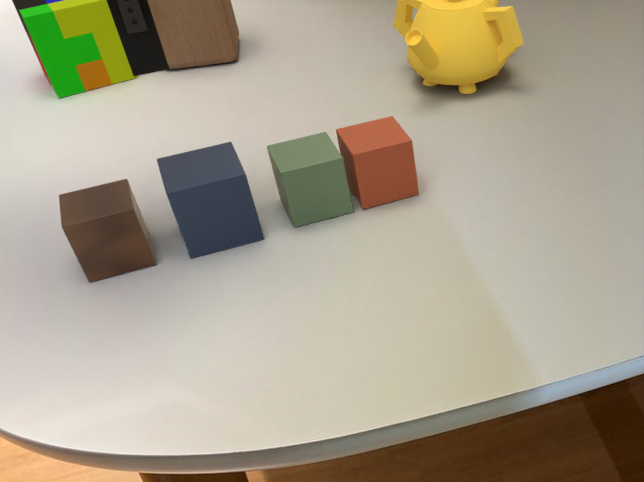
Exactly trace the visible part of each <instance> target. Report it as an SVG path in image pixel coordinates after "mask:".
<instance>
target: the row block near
mask: <svg viewBox="0 0 644 482" xmlns="http://www.w3.org/2000/svg"><path fill="white" fill-rule="evenodd" d="M58 201H59V213H60V225H61V228H62V231H63V233H64V235H65V237H66V239H67V241H68V243H69V246H70V248H71V249H72V252H73V254H74V256H75V257H76V259H77V261H78V264H79V266H80V267H81V270H82V272H83V273H84V276H85V278H86V280H87V282H88V283H93V282H97V281H101V280H104V279H105V280H106V279H107V278H112V277H114V276H119V275H123V274H126V273H131V272H134V271H137V270H142V269H145V268H150V267H153V266H156V265H157V261H156V256H155V252H154V247H153V243H152V240H151V234H150V232H149V229H148V227H147V224H146V222H145V219H144V217H143V214H142V212H141V209H140V206H139V204H138V202H137V200H136V197H135V194H134V192H133V190H132V187H131V185H130V181H129V180H128V178H124V179H119V180H116V181H115V180H114V181H111V182H107V183H103V184H98V185H95V186H89V187H87V188H81V189H78V190H77V189H76V190H73V191H70V192H65V193H61V194H58Z"/></svg>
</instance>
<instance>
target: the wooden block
mask: <svg viewBox="0 0 644 482" xmlns="http://www.w3.org/2000/svg"><path fill="white" fill-rule="evenodd" d="M147 1H148V4H149V7H150V10H151V13H152V16H153V19H154V22H155V26H156V29H157V32H158V35H159V38H160V41H161V44H162V47H163V50H164V53H165V57H166V60H167V63H168V66H169V69H168V70H177V69H185V68H186V69H187V68H193V67H200V66H201V67H202V66H209V65H210V66H211V65H218V64H225V63H232V62H234V61H236V60H237V59H238V54H239V53H238V51H239V41H240V40H239V39H240V31H239V26H238V23H237V19H236V15H235V12H234V11H235V10H234V7H233V3H232V0H147Z"/></svg>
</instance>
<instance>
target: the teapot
mask: <svg viewBox="0 0 644 482" xmlns="http://www.w3.org/2000/svg"><path fill="white" fill-rule="evenodd" d="M396 1H397V2H396V8H395V14H394V21H393V28H394V29H395V30H396V31H397V32H398V33H399V34H400V35H401V36H402V38H404V40H405V43H406V44H407V46H406V57H407V62H408V64H409V65H410V67H411V68H412V69H413V70H414V71H415V72H416V73H417V74H418V75H419V76H420V77H421V78H423V81H422V85H423V86H425V87H435V86H437V85H446V86H458V92H459V93H461V94H463V95H470V94H473V93H475V92H476V91H477V85H476V83H481V82H484V81H486V80H489V79H490V78H493V77H496V76H498V75H499V72H500V71H501V70H502V69H503V67H504V65H505V64H506V63H507V62H508V60H509V58H510V57H511V56H512V54H514V53H515V52H516V51H517V50H518V49H519V48H520V47H521V46H523V45H524V43H525V42H524V39H523V34H522V31H521V28H520V25H519V22H518V18H517V15H516V11H515V8H514V7H515V6H513V5H509V6H499V4H500V0H396ZM414 9H416V10H417V11H416V14H415V16H414V18H413V11H414Z"/></svg>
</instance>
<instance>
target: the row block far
mask: <svg viewBox="0 0 644 482" xmlns="http://www.w3.org/2000/svg"><path fill="white" fill-rule="evenodd" d="M335 133H336V138H337V143H338V148H339V153H340V154H341V156H342V157H343V161H344V166H345V172H346V177H347V182H348V187H349V190H350V192H352V194H353V197H354V198H355V199H356V201H357V202H358V204H359V206H360V208H361V209H362V210H366V209H370V208H374V207H378V206H381V205H385V204H388V203H389V204H390V203H392V202H396V201H399V200H405V199H407V198H410V197H414V196H418V195H419V194H420V190H419V183H418V175H417V167H416V161H415V160H416V159H415V152H414V144H413V139H412V138H411V137H410V136H409V135H408V133H407V132H406V130H404V128H403V127H402V126H401V125H400V123H399V122H398V121H397V120H396V118H395V117H394V116H393V115H391V116H387V117H386V116H385V117H382V118H378V119H373V120H370V121H365V122H360V123H356V124H352V125H348V126H344V127H339V128H336V129H335Z"/></svg>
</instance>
